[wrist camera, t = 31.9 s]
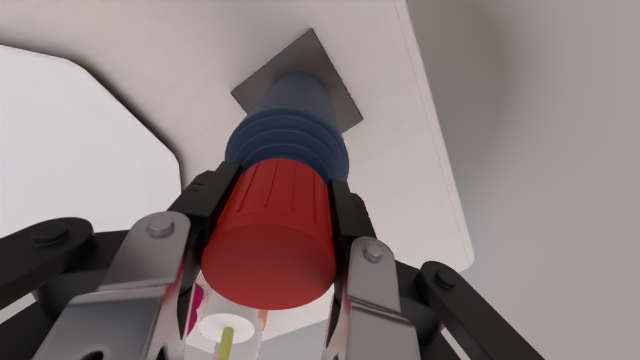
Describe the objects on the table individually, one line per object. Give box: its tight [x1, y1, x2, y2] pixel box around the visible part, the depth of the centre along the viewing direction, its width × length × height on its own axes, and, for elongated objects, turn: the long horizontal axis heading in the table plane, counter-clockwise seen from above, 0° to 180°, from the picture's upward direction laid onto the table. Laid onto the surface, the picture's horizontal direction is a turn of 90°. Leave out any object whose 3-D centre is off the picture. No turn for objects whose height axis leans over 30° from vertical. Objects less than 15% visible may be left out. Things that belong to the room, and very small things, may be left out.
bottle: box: [225, 71, 349, 187], centre depth 16 cm, size 6×6×20 cm
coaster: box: [230, 28, 363, 134], centre depth 24 cm, size 10×10×1 cm
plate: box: [0, 44, 182, 238], centre depth 27 cm, size 28×28×2 cm
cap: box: [201, 158, 337, 310], centre depth 8 cm, size 4×4×4 cm
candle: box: [198, 290, 259, 360], centre depth 29 cm, size 6×6×15 cm
